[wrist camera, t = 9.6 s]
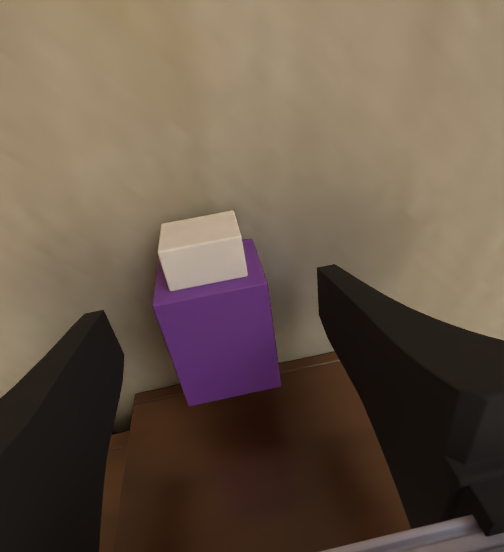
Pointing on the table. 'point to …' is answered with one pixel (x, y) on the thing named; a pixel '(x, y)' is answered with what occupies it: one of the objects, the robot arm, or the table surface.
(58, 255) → the table surface
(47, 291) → the table surface
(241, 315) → the purple eraser
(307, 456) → the cabinet
